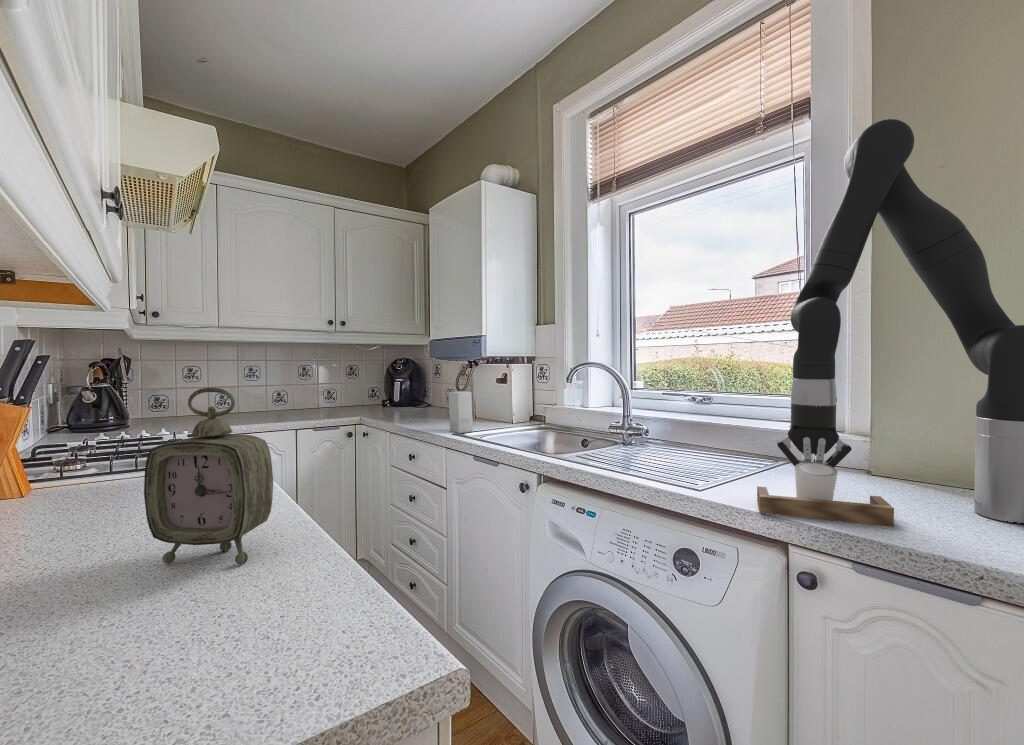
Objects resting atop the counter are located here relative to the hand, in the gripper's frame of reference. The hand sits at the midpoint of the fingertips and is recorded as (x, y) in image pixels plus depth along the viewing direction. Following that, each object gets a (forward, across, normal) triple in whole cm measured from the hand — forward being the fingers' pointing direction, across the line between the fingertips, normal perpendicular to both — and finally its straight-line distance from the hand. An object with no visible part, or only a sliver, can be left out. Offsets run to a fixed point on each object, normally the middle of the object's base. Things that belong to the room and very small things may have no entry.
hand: (812, 490), depth 97 cm
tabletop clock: (+2, +84, +62) cm, 105 cm away
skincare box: (+3, +110, -57) cm, 124 cm away
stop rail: (+2, 0, +8) cm, 8 cm away
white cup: (+2, 0, +3) cm, 4 cm away
